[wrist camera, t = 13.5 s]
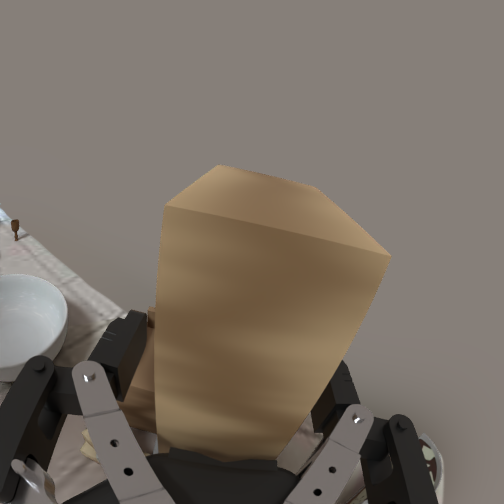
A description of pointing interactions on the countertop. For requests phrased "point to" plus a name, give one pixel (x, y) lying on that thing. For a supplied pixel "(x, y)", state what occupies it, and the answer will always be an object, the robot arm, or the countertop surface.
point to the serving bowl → (29, 322)
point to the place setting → (15, 227)
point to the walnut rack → (143, 386)
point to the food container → (433, 462)
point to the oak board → (253, 310)
